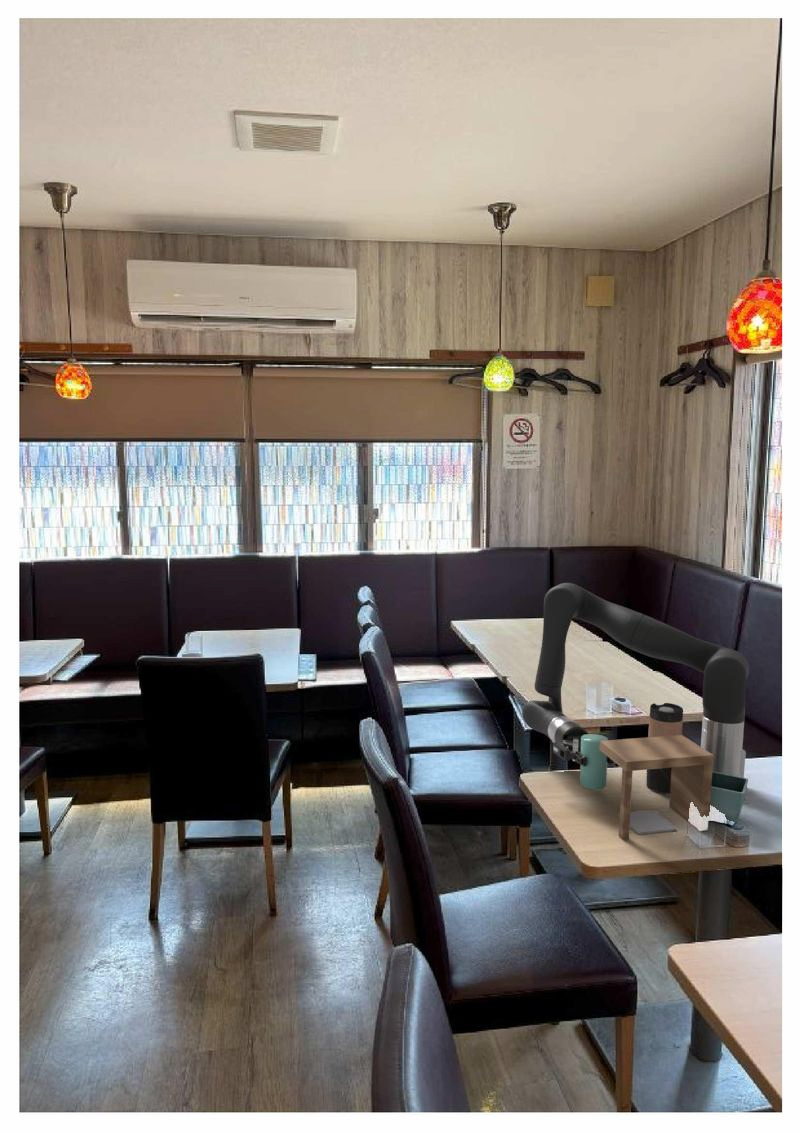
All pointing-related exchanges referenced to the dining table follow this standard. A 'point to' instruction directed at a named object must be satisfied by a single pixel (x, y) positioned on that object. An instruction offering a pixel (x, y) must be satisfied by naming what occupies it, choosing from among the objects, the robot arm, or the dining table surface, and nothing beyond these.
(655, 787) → the travel mug
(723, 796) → the flower pot
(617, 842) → the dining table surface
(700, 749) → the brown wooden shelf stand
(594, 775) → the teal glossy cylinder
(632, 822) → the mat
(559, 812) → the dining table surface
